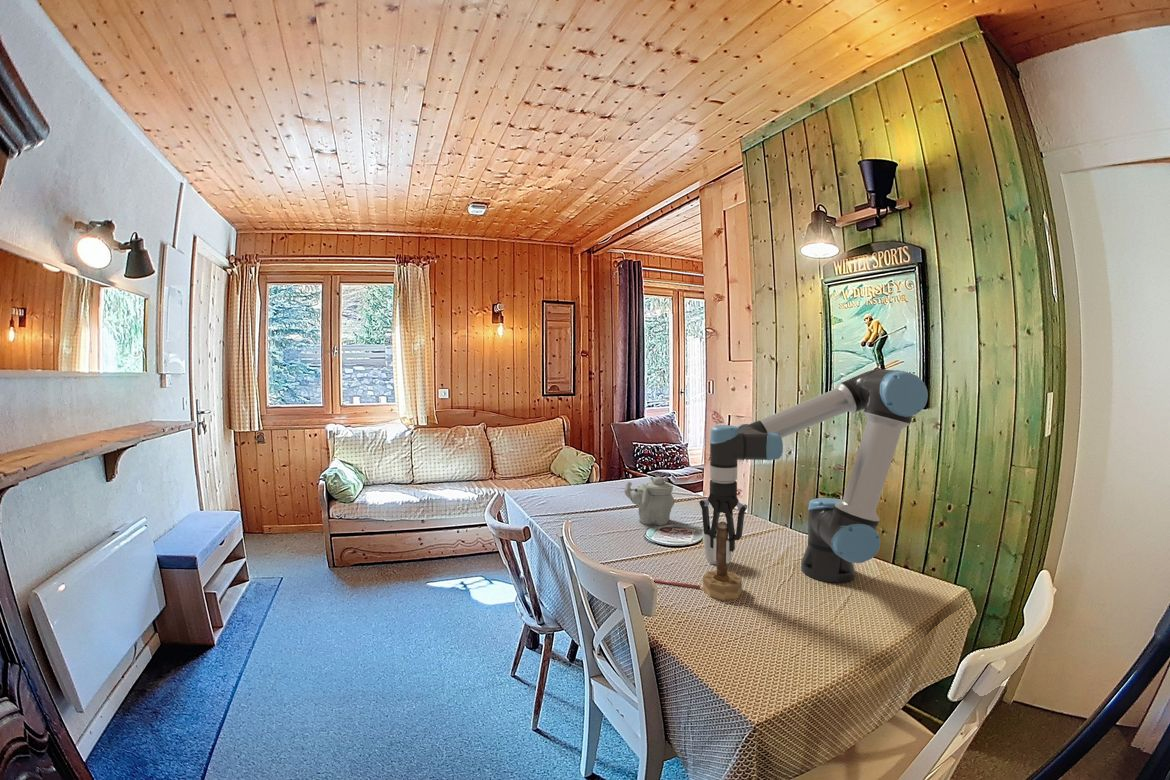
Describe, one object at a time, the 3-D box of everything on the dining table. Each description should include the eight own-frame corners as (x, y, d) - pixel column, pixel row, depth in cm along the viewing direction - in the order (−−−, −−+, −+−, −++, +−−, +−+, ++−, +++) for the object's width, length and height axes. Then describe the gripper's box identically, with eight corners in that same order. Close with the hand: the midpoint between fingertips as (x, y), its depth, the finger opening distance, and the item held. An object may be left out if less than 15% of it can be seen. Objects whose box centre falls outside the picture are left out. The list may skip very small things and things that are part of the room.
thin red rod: (700, 587, 156) (700, 585, 156) (700, 589, 155) (700, 586, 155) (652, 580, 161) (652, 578, 160) (651, 582, 160) (651, 579, 160)
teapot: (623, 519, 216) (622, 474, 215) (649, 512, 226) (649, 468, 224) (651, 531, 203) (651, 482, 202) (678, 522, 212) (678, 476, 211)
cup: (728, 567, 170) (728, 536, 169) (702, 565, 171) (702, 535, 171) (726, 557, 178) (727, 528, 177) (702, 555, 179) (702, 526, 178)
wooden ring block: (743, 588, 155) (744, 574, 155) (735, 602, 147) (735, 588, 146) (710, 580, 160) (710, 568, 160) (699, 594, 152) (699, 581, 151)
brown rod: (728, 573, 153) (729, 521, 152) (725, 577, 151) (726, 524, 149) (718, 571, 155) (719, 519, 154) (715, 575, 152) (716, 522, 151)
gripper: (755, 480, 150) (753, 561, 152) (700, 474, 158) (699, 550, 160) (749, 486, 143) (747, 571, 145) (691, 479, 151) (691, 559, 153)
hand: (722, 560), depth 153 cm, fingers closed on brown rod, 3 cm apart
